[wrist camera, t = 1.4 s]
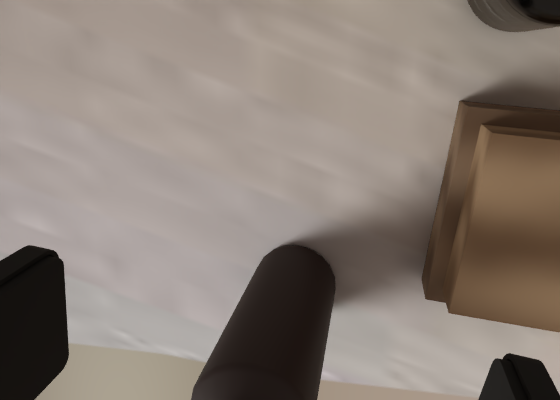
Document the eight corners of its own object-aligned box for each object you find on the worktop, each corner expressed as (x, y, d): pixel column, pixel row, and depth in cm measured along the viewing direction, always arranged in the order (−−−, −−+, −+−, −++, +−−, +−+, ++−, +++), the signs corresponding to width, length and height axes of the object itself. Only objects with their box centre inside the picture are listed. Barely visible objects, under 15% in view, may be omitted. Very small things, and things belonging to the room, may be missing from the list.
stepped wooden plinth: (459, 100, 30) (478, 113, 25) (689, 123, 28) (767, 142, 22) (421, 279, 35) (430, 322, 30) (615, 310, 33) (664, 364, 27)
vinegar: (343, 309, 37) (312, 567, 19) (268, 318, 39) (173, 560, 21) (326, 237, 36) (272, 445, 17) (248, 249, 37) (123, 449, 19)
